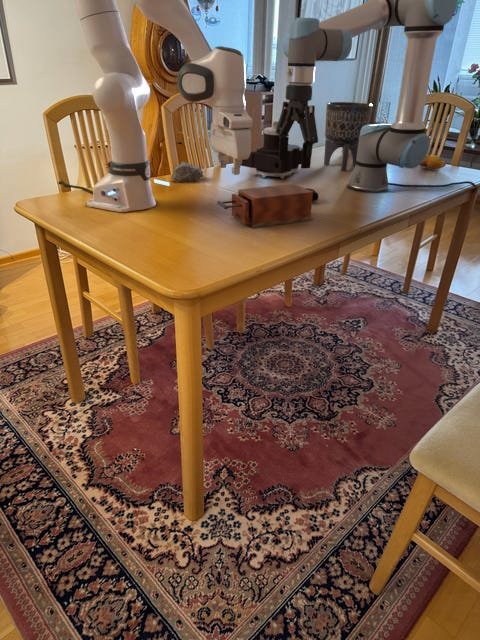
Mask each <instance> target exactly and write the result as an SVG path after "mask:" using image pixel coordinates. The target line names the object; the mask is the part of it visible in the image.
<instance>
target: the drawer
mask: <svg viewBox="0 0 480 640" xmlns="http://www.w3.org/2000/svg"><path fill="white" fill-rule="evenodd" d="M227 204H229V205H227ZM230 204H231V205H230ZM216 205H217V206H218V207H219V208H222V209H223V210H225V211H227V210H228V209H231V217H232V218H234V219H236V220H237V221H238V222H240V223H241V224H243V225H246V226H247V225H248V219H249V220H250V221H252V200H250V199H248V198H247V197H245V196H243V195H241V197H240V196H238V193H231V200H224V201H221V200H217V201H216Z"/></svg>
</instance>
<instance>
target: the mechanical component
mask: <svg viewBox="0 0 480 640" xmlns="http://www.w3.org/2000/svg"><path fill="white" fill-rule="evenodd" d="M278 122H279V120H272V126H271V127H265V128H264V129H263V145H262V146H258V147H257V148H256V151H251V153H250V156H249V158H248V159H245V160H242V164H241V167H245V168H250V169H255V173H256V174H257V175H261V177H262V178H267V177H279V178H280V179H285V176H291V175H292V173H298V171H299V167H300V166H301V159H302V148H303V147H301V146H299V145H297V144H290V143H288V154H287V159H284V160H279V159H278V158H279V142H280V137H279V134H277V133H276V129H277V125H278ZM280 129H281V128H280ZM286 137H288V136H286Z"/></svg>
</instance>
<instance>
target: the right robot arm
mask: <svg viewBox="0 0 480 640" xmlns="http://www.w3.org/2000/svg"><path fill="white" fill-rule="evenodd" d="M457 5H458V0H367V1H366V2H364V3H362V4H360V5H357V6H355V7H353V8H350V9H348V10H346V11H343V12H341V13H339V14H336V15H334V16H331V17H329V18H326V19H324V20H322V21H320V20H319V19H318V18H316V17H295V18H293V19H292V20H291V22H290V26H289V27H290V28H289V32H287V33H286V35H285V36H284V37H283V40H282V51H283V54H284V56H285V57H286V58H287V70H286V83H288V84H287V85H286V86H285V100H287V101H283V102H282V108H281V112H280V115H279V116H280V117H279V118H278V121H279V122H278V125H277V129H276V133H277V134H279V137H280V142H279V158H278V159H279V160H284V159H287V154H288V144H289V139H290V137H289V136H290V135H289V134H290V131H291V129H292V127H293V125H294V123H295V122H296V123H297V124H298V125H299V128H300V132H301V136H302V139H303V143H302V147H301V148H302V159H301V164H300V169H301V170H302V169H303V170H304V169H311V163H312V162H311V161H312V155H313V147H314V145H315V144H318V142H319V137H318V130H317V123H316V115H315V114H316V113H315V111H316V109H315V108H316V107H315V105H311V104H310V105H309V102H311V101H312V100H313V93H314V87H313V85H312V84H314V83H315V72H316V61H328V62H331V61H332V62H338V61H344V60H346V59H348V57H349V56H350V55H351V52H352V50H353V42H354V41H353V39H354V38H356V37H358V36H360V35H362V34H364V33H366V32H369V31H371V30H375V31H379V30H382V29H384V28H391V27H404V28H403V34H404V35H405V37H406V38H407V41H406V48H405V55H404V63H403V69H402V76H401V83H400V89H399V96H398V101H397V102H398V103H397V109H396V116H395V120H394V121H393V122H392V123H379V124H369V125H365V126H363V127H362V128H361V132H360V136H359V142H358V150H357V158H356V165H355V166H354V167H353V171H351V174H350V176H349V179H348V182H347V187H348V188H349V189H351V190H354V191H358V192H363V193H364V192H365V193H382V192H386V191H388V189H389V186H393V187H402V188H446V187H451V186H455V185H464V184H470V185H471V186H473V187H476V186H477V185H476V184H475V183H474V182H473V181H468V180H467V181H466V180H465V181H457V182H449V183H446V184H401V183H396V182H395V183H394V182H389V178H388V173H387V172H388V171H387V166H388V165H392V166H396V167H398V168H402V169H403V168H405V169H414V168H416V167H418V166H420V165H419V164H420V163H421V162H422V161H423V160H424V158H425V157H426V156H428V153H429V150H430V148H431V140H430V137H429V135H428V134H427V133H426V125H425V124H424V122H423V118H424V117H423V116H424V112H425V106H426V100H427V95H428V89H429V84H430V78H431V74H432V67H433V62H434V57H435V51H436V44H437V40H438V37H440V36H441V34H443V33H444V29H445V25H447V24H448V23H449V22H450V21H452V20H453V17H454V15H455V14H456V13H455V12H456V10H457V7H458V6H457ZM280 128H281V129H280ZM286 136H287V137H286Z"/></svg>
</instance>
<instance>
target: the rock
mask: <svg viewBox="0 0 480 640" xmlns="http://www.w3.org/2000/svg"><path fill="white" fill-rule="evenodd" d="M201 178H202V179H203V178H204V171H203V170H202V169H201V168H200V167H199V166H197V165H194V164H192V163H189V162H186V161H181V163H180V164H179V165H177V166H176V167H175V168H174V169H173V171H172V173H171V179H170V180H171V181H172V182H177V183H189V182H191V183H192V182H196V181H197V180H200V179H201Z"/></svg>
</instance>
